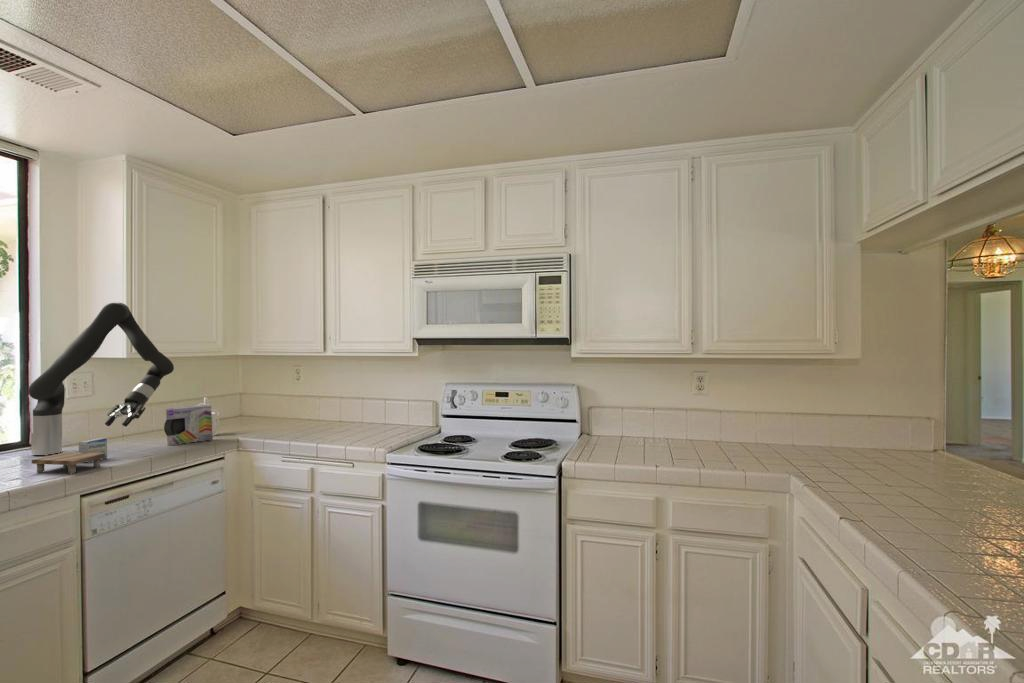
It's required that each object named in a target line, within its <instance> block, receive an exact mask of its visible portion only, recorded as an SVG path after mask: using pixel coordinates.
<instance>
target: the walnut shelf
mask: <svg viewBox="0 0 1024 683" xmlns="http://www.w3.org/2000/svg"><path fill="white" fill-rule="evenodd" d="M104 457H105V453H79V452H74V451H73V452H70V451H69V452H67V451H66V452H61V453H58V454H52V455H45V456H41V457H38V458H32V459H31V464H33V465H36V473H37V472H42V473H44V472H45V465H53V466H54V465H55V466H56V465H58V466H59V465H61V466H62V467H63V466H65V467H68V475H72V474H71V473H74V474H76V473H77V465H79V464H84V463H83V462H88V461H92V460H94V462H93V468H94V467H97V468H101V460H100V458H104ZM67 465H68V466H67ZM43 471H44V472H43ZM75 472H76V473H75Z"/></svg>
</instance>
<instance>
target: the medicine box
mask: <svg viewBox="0 0 1024 683" xmlns="http://www.w3.org/2000/svg"><path fill="white" fill-rule="evenodd" d="M78 453H105V457H104V458H106V459H108V440H107V438H106V437H98V438H93V439H88V440H82V441H79V442H78ZM104 458H100V461H102V460H101V459H103V460H105V459H104ZM92 461H94V460H92ZM92 461H88V462H91V463H93V462H92Z"/></svg>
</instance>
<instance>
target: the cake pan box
mask: <svg viewBox="0 0 1024 683" xmlns="http://www.w3.org/2000/svg"><path fill="white" fill-rule="evenodd" d="M211 409H212V405H211V404H209V405H204V404H200V405H198V406H197V405H188V406H187V405H186V406H185V405H184V406H176V407H174V406H173V407H167V408H166V409H165V413H166V415H165V416H166V418H165V419H166V420H165V422H164V426H163V429H164V430H163V431H164V433H165V435H166V442H167V446H168V445H169V446H172V445H171V444H178V445H180V444H179V443H186V444H189V443H188V442H195V443H198V442H197V441H202V442H206V441H205V440H210V441H213V440H214V438H213V437H214V436H213V435H212V410H211Z"/></svg>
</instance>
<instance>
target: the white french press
mask: <svg viewBox="0 0 1024 683" xmlns="http://www.w3.org/2000/svg"><path fill="white" fill-rule="evenodd" d="M199 405H210V401H209V398H208V397H207V396H206V397H203V403H202V402H201V403H199V404H197V405H196V406H199ZM212 411H214V412H212ZM215 411H216V412H215ZM211 412H212V435H213V437H214V435H215V436H217V435H218V434H217V426H220V412H219V410H216V409H212V408H211Z"/></svg>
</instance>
